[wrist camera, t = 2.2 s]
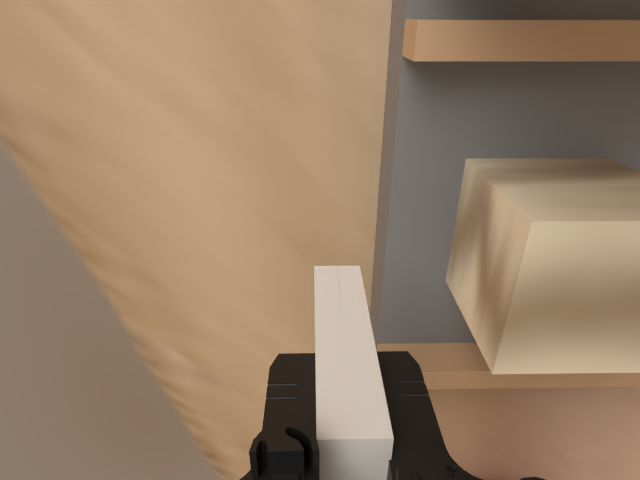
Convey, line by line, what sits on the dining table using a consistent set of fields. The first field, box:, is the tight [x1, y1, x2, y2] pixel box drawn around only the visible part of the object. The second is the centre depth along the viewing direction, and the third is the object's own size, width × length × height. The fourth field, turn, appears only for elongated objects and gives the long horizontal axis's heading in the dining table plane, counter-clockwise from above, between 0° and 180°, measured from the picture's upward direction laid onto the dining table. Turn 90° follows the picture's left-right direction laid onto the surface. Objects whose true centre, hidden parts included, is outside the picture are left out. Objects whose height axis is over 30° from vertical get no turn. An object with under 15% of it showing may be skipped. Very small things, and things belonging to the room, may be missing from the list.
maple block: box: [446, 158, 640, 374], centre depth 16 cm, size 6×6×6 cm
